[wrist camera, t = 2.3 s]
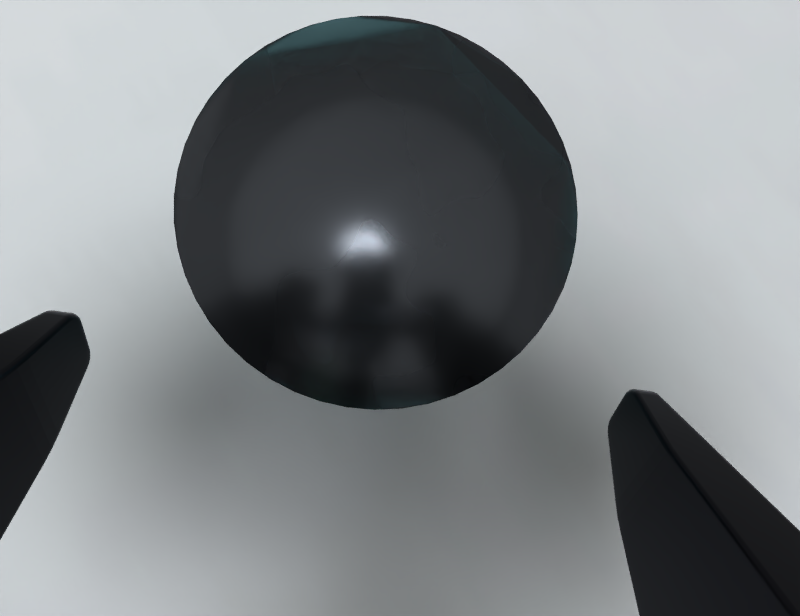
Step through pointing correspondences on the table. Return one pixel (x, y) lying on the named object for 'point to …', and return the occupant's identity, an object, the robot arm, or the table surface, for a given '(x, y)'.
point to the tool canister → (375, 212)
